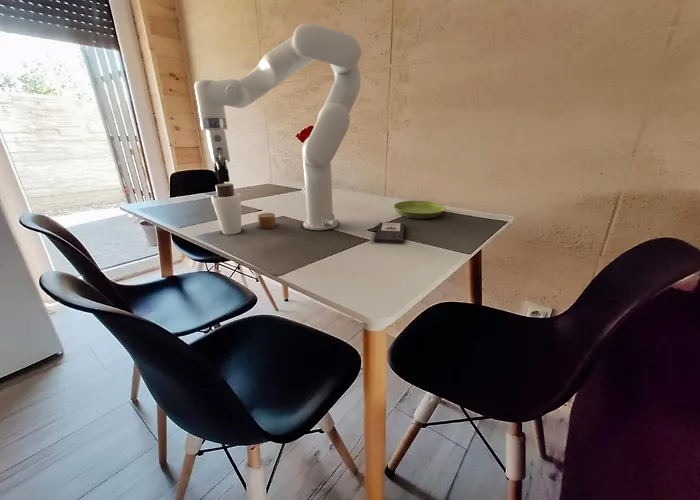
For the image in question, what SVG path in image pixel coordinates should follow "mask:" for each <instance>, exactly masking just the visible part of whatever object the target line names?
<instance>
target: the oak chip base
mask: <svg viewBox="0 0 700 500" xmlns="http://www.w3.org/2000/svg"><path fill="white" fill-rule="evenodd" d="M258 227H259V229H264V230H268V229H273V228H275V227H277V225H276V220H275V221H273V222H270V223H260V222H259V221H258Z"/></svg>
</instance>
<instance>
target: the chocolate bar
mask: <svg viewBox="0 0 700 500" xmlns="http://www.w3.org/2000/svg"><path fill="white" fill-rule="evenodd" d="M404 232H405V222H404V223H402V222H401V223H400V222H399V223H398V222H378V227H377V229H376V232H375V236H374V238H373V241H374V243H387V244H388V243H390V244H404Z"/></svg>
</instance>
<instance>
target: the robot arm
mask: <svg viewBox="0 0 700 500" xmlns="http://www.w3.org/2000/svg"><path fill="white" fill-rule="evenodd" d="M361 55H362V50H361V45H360V43H359V42H358V40H357V39H356V38H355V37H354V36H352V35H351V34H349V33H345V32H342V31H338V30H336V29H332V28H329V27H325V26H321V25H318V24H315V23H311V22H303V23H301V24H299V25H298V26H296V27H295V29H294V30H293V34H292V36H290V37H289V38H287V39H286V40H284V41H283V42H281V43H280V44H278V45H277V46H275V47H274V48H273V49H271V50H270V51H268V52H266V53H265V54H264V55H263V56H262V57H261V58H260V60H259V62H258V64H257V65H256V66H255V67H254V68H253V69H252V70H251V71H250V72H249V73H247V74H246V75H244V76H243V77H242V78H240V79H234V78H227V79H221V80H220V79H219V80H213V79H198V80H196V81H195V82H194V91H195V96H196V97H195V98H196V103H197V109H198V114H199V118H200V119H199V120H200V121H199V122H200V127H201V130H202V131H206V138H207V144H208V149H209V153H210V158H211V160H212V162H213V164H214V166H213V168H214V174H215V175H214V176H215V179H218V183H219V184H222V183H229V182H230V175H229V168H228V166H227V163H230V162H231V158H230V152H229V147H228V140H227V135H226V132H225V131H226V130H228V124H227V123H228V122H227V117H226V110H225V106H227V107H232V108H237V109H243V108H247V106H249V105H251V104H253V103H254V102H256V101H257V100H259V99H260V98H262V97H263V96H264V95H266V94H267V93H270V91H271V90H273V89H275V88H276V87H278V86H279V85H281V84H282V83H284V82H285V81H286V80H288V79H289V78H291V77H292V76H294V75H295V74H297V73H298V72H300V71H302V70H303V69H305V68H306V67H307V66H309V65H310V64H312V63H313V62H315V61H318V62H321V63H326V64H328V65H329V66H330V68H331V70H332V72H333V74H334V79H333V80H334V81H333V84H332V86H331V88H330V91H329V93H328V96H327V97H326V100H325V101H324V104H323V105H322V107H321V108H320V110H319V112H318V114H317V119H316V122H315V124H314V126H313V128H312V129H311V132H310V134H309V136H308V137H307V138H306V139H305V140H304V141H303V144H302V148H301V155H302V165H303V176H304V193H305V206H306V209H305V210H306V220H305V221H304V222H303V223H302V225H303V228H304V229H307V230H310V231H326V230H331V229H334V228H337V226H338V224H339V219H338V218H335V214H334V209H333V208H334V207H333V178H332V164H331V162H332V160H334V157H335V156H336V154H337V152H338V150H339V148H340V146H341V144H342V142H343V140H344V138H345V136H346V134H347V132H348V129H349V127H350V123H351V117H350V113H351V111H352V109H353V106H354V105H355V102H356V100H357V99H358V95H359V92H360V90H361V89H360V88H361V73H360V68H359V65H358V63H359V62H360V60H361Z"/></svg>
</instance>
